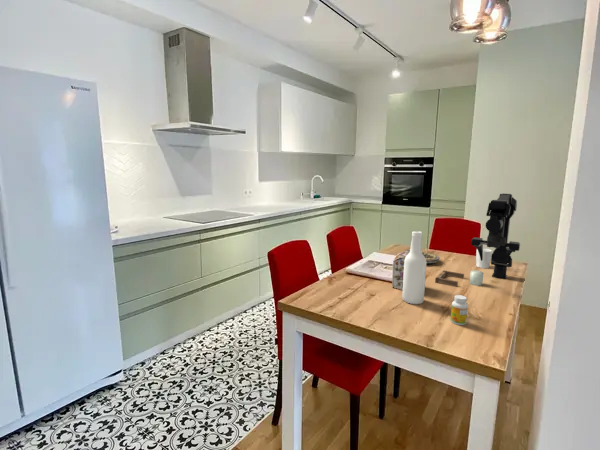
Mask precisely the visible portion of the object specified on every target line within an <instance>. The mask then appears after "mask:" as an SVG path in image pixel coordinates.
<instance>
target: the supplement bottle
mask: <svg viewBox="0 0 600 450" xmlns="http://www.w3.org/2000/svg"><path fill="white" fill-rule="evenodd" d="M468 311H469V305H468V303H467V297H466V296H464V295H460V294H456V295H454V300H453V301H452V302H451V311H450V322H451V323H452V324H454V325H457V326H466V324H467V322H468Z"/></svg>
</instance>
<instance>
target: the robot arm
mask: <svg viewBox="0 0 600 450" xmlns="http://www.w3.org/2000/svg"><path fill="white" fill-rule="evenodd" d="M517 206H518V201H517V199H515V198H514V197H513V194H511V193H500V194H499V196H498V198H497V199H492V200H491V201H490V202H489V203H488V207H487V210H486V217H489V219H488V220H487V221H486V223H485V228H486V230H487V231H488V235H487V239H486V240H484V239H483V238H482V237H475V236H474V237H473V238H472V239H471V241H470V245H471V246H473V247H474V248H476V250H477V249H478V252H479V255H480V258H481V261H482V259H483V248H484V247H483V246H486V247H487V248H494V250H492V255H491V261H490V264H491V266H493V272H492V274H491V277H493V278H497V279H503V280H506V279H507V278H508V274H507V270H508V268H511V267H513V258H512V253H515V252H517V251H518V252H519V251H520V247H521V243H520V242H519V241H511V240H510V241H509V232H510V222H511V218H512V217H513V216H514V214H515V212H516V211H517Z"/></svg>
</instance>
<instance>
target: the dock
mask: <svg viewBox="0 0 600 450" xmlns="http://www.w3.org/2000/svg"><path fill="white" fill-rule="evenodd" d="M445 277H451V278H455V279H456V278H457V279H463V280H464V278H465V273H461V272H455V271H449V270H442V271H441V272H440V273H439V274H438V275H437V276H436V277H435V279H434V280H435V281H434V283H435V284H442V285H446V286H451V287H456V288H457V287H458V285H459V281H457V280H453V279H446V278H445Z"/></svg>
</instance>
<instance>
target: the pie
mask: <svg viewBox="0 0 600 450" xmlns="http://www.w3.org/2000/svg"><path fill="white" fill-rule="evenodd" d="M422 254H423V255H424V257H425V258H426V260H427V263H426V266H428V265H435V264H436V263H437V262H438V261H440V260H441V258H440V256H439V255H437V254H435V253H431V252H427V251H422Z"/></svg>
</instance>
